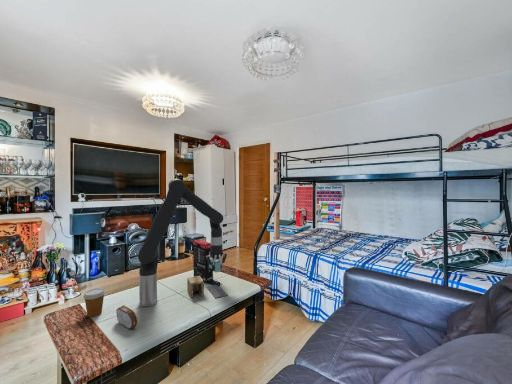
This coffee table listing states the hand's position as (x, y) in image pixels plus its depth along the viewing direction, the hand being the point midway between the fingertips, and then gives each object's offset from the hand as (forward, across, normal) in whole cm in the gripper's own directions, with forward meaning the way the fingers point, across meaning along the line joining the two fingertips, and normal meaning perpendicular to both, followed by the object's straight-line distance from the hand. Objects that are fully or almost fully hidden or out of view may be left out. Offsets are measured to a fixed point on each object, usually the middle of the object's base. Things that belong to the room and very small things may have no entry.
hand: (216, 270), depth 153 cm
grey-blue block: (0, 0, +4) cm, 4 cm away
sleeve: (+14, -13, +3) cm, 19 cm away
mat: (+14, 0, 0) cm, 14 cm away
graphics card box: (+14, -2, +26) cm, 30 cm away
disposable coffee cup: (+14, -66, +4) cm, 68 cm away
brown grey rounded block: (+14, -51, -16) cm, 55 cm away
